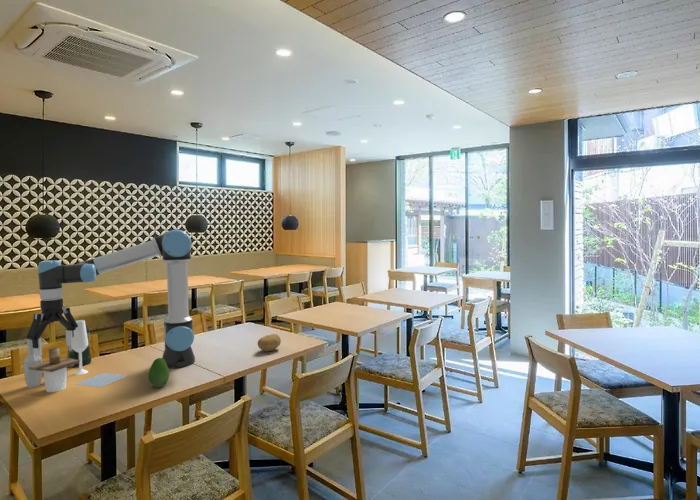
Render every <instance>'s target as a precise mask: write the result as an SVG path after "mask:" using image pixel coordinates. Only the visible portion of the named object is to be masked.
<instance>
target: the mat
mask: <svg viewBox="0 0 700 500" xmlns="http://www.w3.org/2000/svg"><path fill="white" fill-rule="evenodd" d="M126 377H128V375H126V374H117V373H107V372H101V373H99V374H96V375H94V376H92V377H89V378H87V379H84V380H82V381H80V382H77V383H76V385H79V386H87V387H95V388H96V387H97V388H104V387H105V386H106V387H107V386H108V385H111V384H113V383H116V382H117V381H119V380H121V379H124V378H126Z"/></svg>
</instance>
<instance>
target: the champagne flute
mask: <svg viewBox="0 0 700 500" xmlns="http://www.w3.org/2000/svg"><path fill="white" fill-rule="evenodd" d="M75 321H76V323H77V325H78V327H77V328H76V329H75V330H74V337H73V346H71V348H72V349H73V350H74V351H76V352H78V353H79V360H80V362H79V366H78V368H79V369H78V370H77V371H75V372H74V373H73V375H76V376H79V375H85V374H87V373H89V371H88V370H87V369H84V368H83V365H82V352H83V351H84V350H85V349H86V348H87V346H88V338H87V331H86V326H87V325H86V320H85V319H79V320H75Z"/></svg>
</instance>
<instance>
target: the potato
mask: <svg viewBox="0 0 700 500" xmlns="http://www.w3.org/2000/svg"><path fill="white" fill-rule="evenodd" d="M281 343H282V340H281V337H280V335H278V334H277V333H273V334H268V335H264V336H262V337H261V338H259V339H258V341H257V346H258V348H259V349H260V350H261V351H263V352H271V351H274V350H275V349H277V348H279V347H280V346H281Z"/></svg>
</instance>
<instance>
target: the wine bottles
mask: <svg viewBox="0 0 700 500" xmlns="http://www.w3.org/2000/svg"><path fill="white" fill-rule="evenodd" d="M67 330H68V329H66V328H65V332H66V331H67ZM86 331H87V338H88V346H87V348H86V349H85V350H84V351H83V352H82V366H85V365H88V364H91V362H92V354H91V349H90V342H89V341H90V339H89V338H90V334H91V332H90V327H89V326H88V325H86ZM66 357H67V358H66V359H74V360H79V353H78V352H76V351H74V350H73V349H72V348H71V346H67V356H66ZM77 366H78V367H79V363H77V364H74V365H71V366H70V368H73V367H74V368H77Z"/></svg>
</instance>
